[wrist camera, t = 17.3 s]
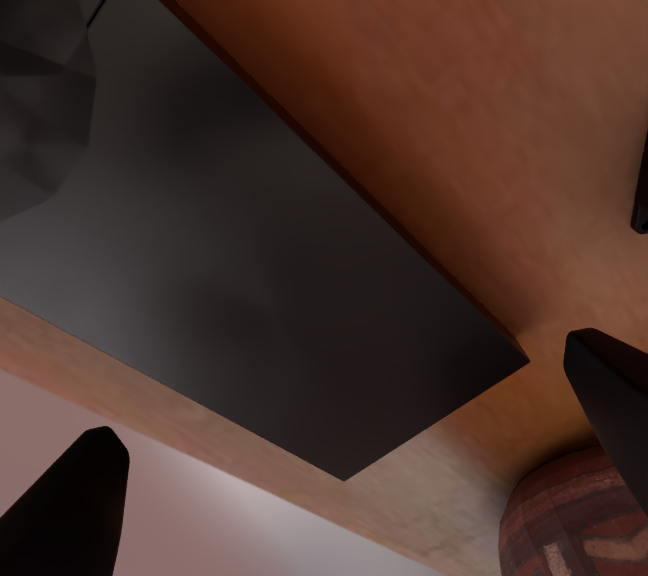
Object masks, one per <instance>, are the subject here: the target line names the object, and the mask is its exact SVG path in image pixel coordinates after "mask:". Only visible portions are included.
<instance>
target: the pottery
mask: <svg viewBox="0 0 648 576" xmlns="http://www.w3.org/2000/svg"><path fill="white" fill-rule="evenodd" d="M498 548H499V559H500V567H501V574H502V576H648V518H647V516H646V515H645V513H644V512H643V510H642V508H641V507H640V505H639V504H638V502H637V501H636V499H635V498H634V496H633V495H632V493H631V491H630V490H629V488H628V487H627V485H626V484H625V482H624V481H623V479H622V477H621V476H620V474H619V473H618V471H617V470H616V468H615V467H614V465H613V463H612V462H611V460H610V459H609V457H608V455H607V454H606V452H605V451H604V449H603V447H602V446H600V447H591V448H587V449H584V450H580V451H576V452H573V453H569V454H566V455H564V456H562V457H560V458H557V459H555V460H553V461H551V462H549V463H546V464H544V465H542V466H541V467H539V468H538V469H536V470H535V471H533V472H532V473H530V474H529V475H527V476H526V477H525V478H524V479H523V480H522V481H521V482H520V483H519V484H518V485H517V486H516V487H515V488H514V491H513V493H512V495H511V497H510V499H509V502H508V504H507V506H506V509H505V511H504V514H503V516H502V519H501V521H500V530H499V546H498Z"/></svg>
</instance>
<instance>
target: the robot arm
mask: <svg viewBox="0 0 648 576" xmlns="http://www.w3.org/2000/svg"><path fill="white" fill-rule="evenodd" d="M634 201H635V203H634V208H633V214H632V219H631V228H632V229H633V230H634V231H636V232H637V233H639V234H647V233H648V132H647V137H646V143H645V148H644V152H643V156H642V161H641V167H640V172H639V178H638V183H637V189H636V194H635V200H634ZM645 221H646V222H645ZM643 222H645V223H644V224H643V225H642V223H643ZM563 365H564V371H565V374H566V376H567V378H568V380H569V382H570V384H571V386H572V388H573V390H574V392H575V394H576V396H577V398H578V400H579V402H580V404H581V406H582V408H583V410H584V412H585V414H586V416H587V418H588V420H589V422H590V424H591V426H592V428H593V430H594V432H595V434H596V436H597V438H598V440H599V442H600V443H601V445H602V447H603V449H604V451H605V452H606V454H607V455H608V457H609V459H610V460H611V462H612V463H613V465H614V467H615V468H616V470H617V471H618V473H619V474H620V476H621V477H622V479H623V481H624V482H625V484H626V485H627V487H628V488H629V490H630V491H631V493H632V495H633V496H634V498H635V499H636V501H637V502H638V504H639V505H640V507H641V508H642V510H643V512H644V513H645V515H646V516H647V518H648V354H647V353H645V352H643V351H641V350H639V349H637V348H634V347H632V346H630V345H628V344H626V343H624V342H622V341H620V340H618V339H616V338H614V337H612V336H609V335H607V334H605V333H603V332H601V331H599V330H597V329H594V328H585V329H580V330H575V331H571V332H569V333H568V335H567V338H566V345H565V353H564V361H563ZM129 463H130V460H129V453H128V450H127V448H126V447H125V446H124V444H123V443H122V442H121V440H120V439H119V438H118V436H117V435H116V434H115V432H114V431H113V430H112V429H111V428H110V427H108V426H102V427H97V428H93V429H89V430H86V431H85V432H84V433H83V434H82V435H81V436H80V437H79V438H78V439H77V440H76V441H75V442H74V443H73V444H72V445H71V446H70V447H69V448H68V449H67V450H66V451H65V452H64V453H63V454H62V455H61V456H60V457H59V458H58V459H57V460H56V461H55V462H54V463H53V464H52V465H51V467H49V468H48V469H47V470H46V472H44V474H43V475H42V476H41V477H40V478H39V479H38V480H37V481H36V482H35V483H34V484H33V485H32V486H31V487H30V488H29V489H28V490H27V491H26V492H25V493H24V494H23V495H22V496H21V497H20V498H19V499H18V500H17V501H16V502H15V503H14V504H13V505H12V506H11V507H10V508H9V509H8V510H7V511H6V512H5V513H4V514H3V515H2V516H1V517H0V576H112V575H113V571H114V566H115V562H116V557H117V553H118V547H119V542H120V537H121V530H122V523H123V514H124V506H125V497H126V489H127V480H128V471H129Z"/></svg>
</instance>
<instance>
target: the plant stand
mask: <svg viewBox="0 0 648 576" xmlns="http://www.w3.org/2000/svg"><path fill="white" fill-rule="evenodd" d="M0 296H1V297H2V298H4V299H6V300H8V301H10V302H12V303H13V304H15V305H17V306H19V307H21V308H23V309H25V310H26V311H28V312H30V313H32V314H34V315H36V316H38V317H39V318H41V319H43V320H45V321H47V322H49V323H51V324H52V325H54V326H56V327H58V328H60V329H62V330H64V331H65V332H67V333H69V334H71V335H73V336H75V337H77V338H78V339H80V340H82V341H84V342H86V343H88V344H90V345H91V346H93V347H95V348H97V349H99V350H101V351H103V352H104V353H106V354H108V355H110V356H112V357H114V358H116V359H117V360H119V361H121V362H123V363H125V364H127V365H128V366H130V367H132V368H134V369H136V370H138V371H140V372H141V373H143V374H145V375H147V376H149V377H151V378H153V379H154V380H156V381H158V382H160V383H162V384H164V385H166V386H167V387H169V388H171V389H173V390H175V391H177V392H179V393H180V394H182V395H184V396H186V397H188V398H190V399H192V400H193V401H195V402H197V403H199V404H201V405H203V406H205V407H206V408H208V409H210V410H212V411H214V412H216V413H218V414H219V415H221V416H223V417H225V418H227V419H229V420H230V421H232V422H234V423H236V424H238V425H240V426H242V427H243V428H245V429H247V430H249V431H251V432H253V433H255V434H256V435H258V436H260V437H262V438H264V439H266V440H268V441H269V442H271V443H273V444H275V445H277V446H279V447H281V448H282V449H284V450H286V451H288V452H290V453H292V454H294V455H295V456H297V457H299V458H301V459H303V460H305V461H307V462H308V463H310V464H312V465H314V466H316V467H318V468H320V469H321V470H323V471H325V472H327V473H329V474H331V475H333V476H334V477H336V478H338V479H340V480H342V481H346V480H347V479H349V478H351V477H352V476H354V475H355V474H357V473H358V472H360V471H361V470H363V469H365V468H366V467H368V466H369V465H371V464H372V463H374V462H375V461H377V460H379V459H380V458H382V457H383V456H385V455H386V454H388V453H389V452H391V451H393V450H394V449H396V448H397V447H399V446H400V445H402V444H403V443H405V442H407V441H408V440H410V439H411V438H413V437H414V436H416V435H417V434H419V433H421V432H422V431H424V430H425V429H427V428H428V427H430V426H432V425H433V424H435V423H436V422H438V421H439V420H441V419H442V418H444V417H446V416H447V415H449V414H450V413H452V412H453V411H455V410H456V409H458V408H460V407H461V406H463V405H464V404H466V403H467V402H469V401H470V400H472V399H474V398H475V397H477V396H478V395H480V394H481V393H483V392H484V391H486V390H488V389H489V388H491V387H492V386H494V385H495V384H497V383H498V382H500V381H502V380H503V379H505V378H506V377H508V376H509V375H511V374H512V373H514V372H516V371H517V370H519V369H520V368H522V367H523V366H525V365H526V364H528V363H530V359H529V358H528V356H527V355H526V353H525V352H524V350H523V349H522V347H521V346H520V344H519V343H518V341H517V340H516V338H515V337H514V336H513V335H512V334H511V333H510V332H509V331H508V330H507V329H506V328H505V327H504V326H503V325H502V324H501V323H500V322H499V321H498V320H497V319H496V318H495V317H494V316H493V315H492V314H491V313H490V312H489V311H488V310H486V309H485V308H484V307H483V306H482V305H481V304H480V303H479V302H478V301H477V300H476V299H475V298H474V297H473V296H472V295H471V294H470V293H469V292H468V291H467V290H466V289H465V288H464V287H463V286H462V285H461V284H460V283H459V282H458V281H457V280H456V279H455V278H454V277H453V276H452V275H451V274H450V273H449V272H448V271H447V270H446V269H445V268H444V267H443V266H442V265H441V264H440V263H439V262H438V261H437V260H436V259H435V258H434V257H433V256H432V255H431V254H430V253H429V252H428V251H427V250H426V249H425V248H424V247H423V246H422V245H421V244H420V243H419V242H418V241H417V240H416V239H415V238H414V237H413V236H412V235H411V234H410V233H409V232H408V231H407V230H406V229H405V228H404V227H403V226H402V225H401V224H400V223H399V222H398V221H397V220H396V219H395V218H394V217H393V216H392V215H391V214H390V213H389V212H388V211H387V210H386V209H385V208H384V207H383V206H382V205H381V204H379V203H378V202H377V201H376V200H375V199H374V198H373V197H372V196H371V195H370V194H369V193H368V192H367V191H366V190H365V189H364V188H363V187H362V186H361V185H360V184H359V183H358V182H357V181H356V180H355V179H354V178H353V177H352V176H351V175H350V174H349V173H348V172H347V171H346V170H345V169H344V168H343V167H342V166H341V165H340V164H339V163H338V162H337V161H336V160H335V159H334V158H333V157H332V156H331V155H330V154H329V153H328V152H327V151H326V150H325V149H324V148H323V147H322V146H321V145H320V144H319V143H318V142H317V141H316V140H315V139H314V138H313V137H312V136H311V135H310V134H309V133H308V132H307V131H306V130H305V129H304V128H303V127H302V126H301V125H300V124H299V123H298V122H297V121H296V120H295V119H294V118H293V117H292V116H291V115H290V114H289V113H288V112H287V111H286V110H285V109H284V108H283V107H282V106H281V105H280V104H279V103H278V102H277V101H276V100H275V99H274V98H273V97H271V96H270V95H269V94H268V93H267V92H266V91H265V90H264V89H263V88H262V87H261V86H260V85H259V84H258V83H257V82H256V81H255V80H254V79H253V78H252V77H251V76H250V75H249V74H248V73H247V72H246V71H245V70H244V69H243V68H242V67H241V66H240V65H239V64H238V63H237V62H236V61H235V60H234V59H233V58H232V57H231V56H230V55H229V54H228V53H227V52H226V51H225V50H224V49H223V48H222V47H221V46H220V45H219V44H218V43H217V42H216V41H215V40H214V39H213V38H212V37H211V36H210V35H209V34H208V33H207V32H206V31H205V30H204V29H203V28H202V27H201V26H200V25H199V24H198V23H197V22H196V21H195V20H194V19H193V18H192V17H191V16H190V15H189V14H188V13H187V12H186V11H185V10H184V9H183V8H182V7H181V6H180V5H179V4H178V3H177V2H176V1H175V0H0Z"/></svg>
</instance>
